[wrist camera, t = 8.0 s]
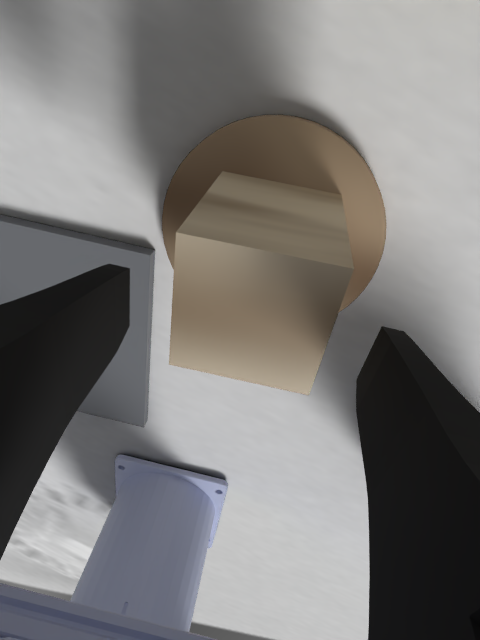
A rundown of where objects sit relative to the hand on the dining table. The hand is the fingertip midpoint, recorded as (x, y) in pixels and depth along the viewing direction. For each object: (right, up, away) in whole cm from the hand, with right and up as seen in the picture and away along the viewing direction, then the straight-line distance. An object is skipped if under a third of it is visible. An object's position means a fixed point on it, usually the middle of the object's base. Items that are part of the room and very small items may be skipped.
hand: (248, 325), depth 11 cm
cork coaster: (+1, +4, +5) cm, 7 cm away
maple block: (+1, +4, +5) cm, 6 cm away
